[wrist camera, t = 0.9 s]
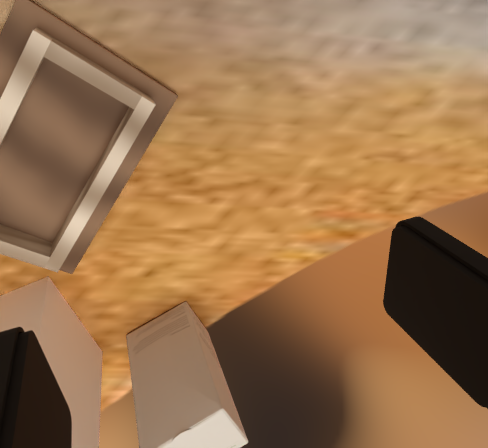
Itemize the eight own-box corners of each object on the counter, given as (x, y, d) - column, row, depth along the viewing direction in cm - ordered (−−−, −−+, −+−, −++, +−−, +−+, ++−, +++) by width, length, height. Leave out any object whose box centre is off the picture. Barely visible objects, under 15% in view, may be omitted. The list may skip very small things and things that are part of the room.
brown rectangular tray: (20, -6, 29) (12, -7, 26) (176, 93, 36) (183, 102, 33) (-81, 216, 34) (-98, 237, 31) (72, 268, 40) (70, 289, 37)
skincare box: (151, 363, 50) (171, 492, 37) (122, 331, 46) (133, 462, 33) (211, 330, 50) (251, 446, 37) (187, 296, 47) (223, 411, 34)
